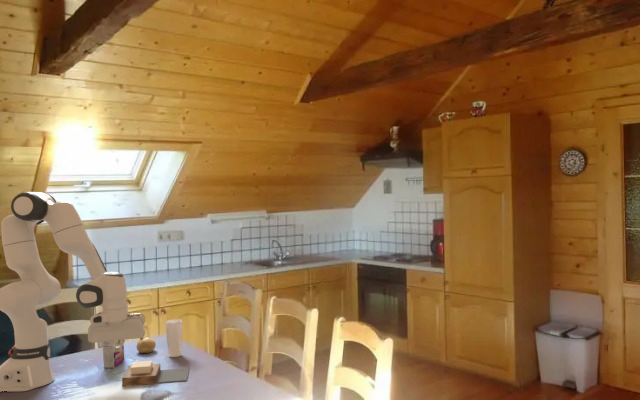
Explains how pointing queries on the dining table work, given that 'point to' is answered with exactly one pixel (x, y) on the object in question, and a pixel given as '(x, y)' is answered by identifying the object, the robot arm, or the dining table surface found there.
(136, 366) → the tile
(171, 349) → the white tapered cup
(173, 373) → the mat
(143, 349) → the onion
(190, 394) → the dining table surface
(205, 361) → the dining table surface
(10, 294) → the robot arm
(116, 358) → the candy bar box
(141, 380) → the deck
